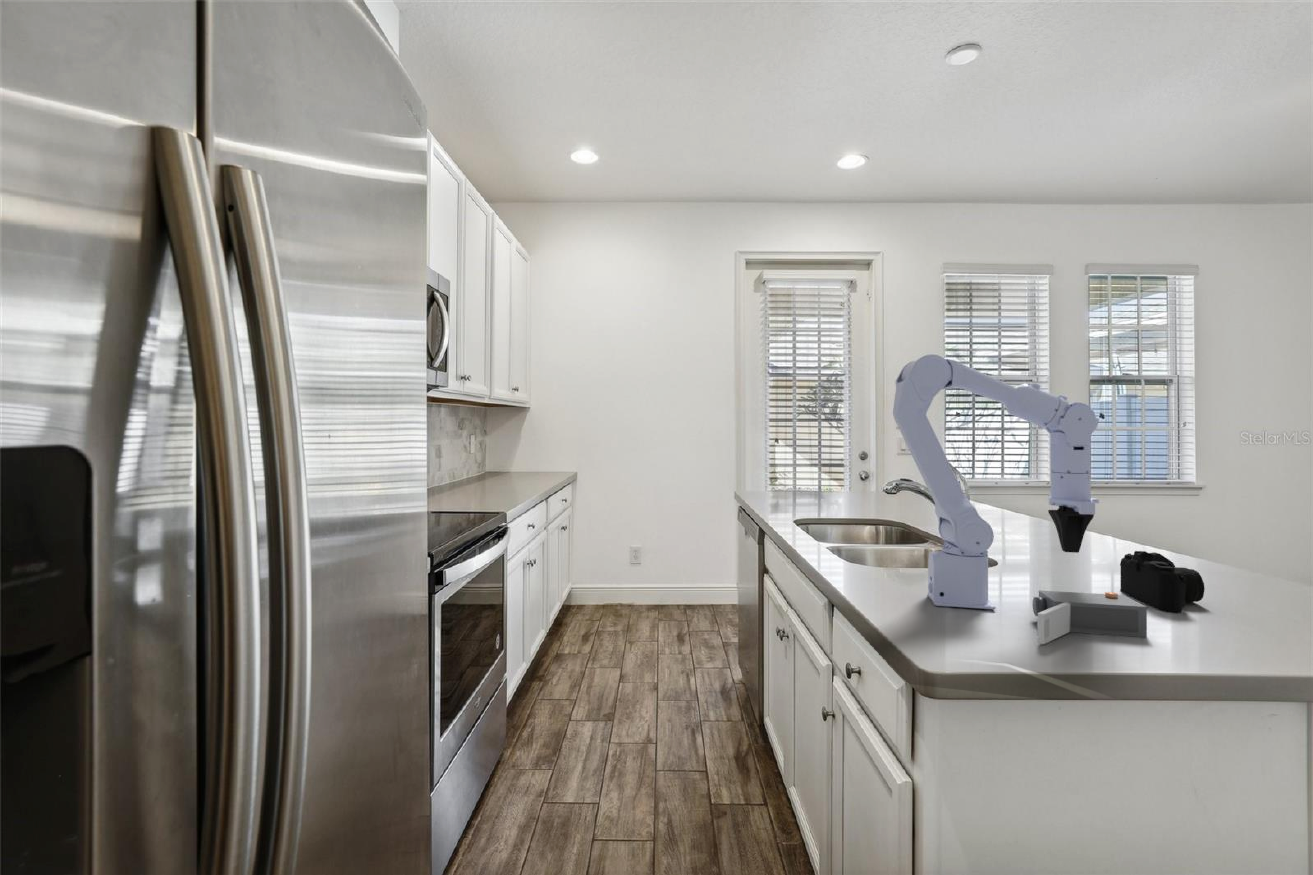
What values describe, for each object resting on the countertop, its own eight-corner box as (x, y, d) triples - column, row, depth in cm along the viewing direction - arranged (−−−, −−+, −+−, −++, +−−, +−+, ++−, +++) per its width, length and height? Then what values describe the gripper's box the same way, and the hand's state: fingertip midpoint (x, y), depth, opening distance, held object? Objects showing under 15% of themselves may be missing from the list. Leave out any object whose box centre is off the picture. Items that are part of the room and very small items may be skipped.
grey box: (1046, 630, 94) (1045, 597, 94) (1030, 617, 100) (1030, 586, 100) (1147, 637, 90) (1147, 603, 90) (1124, 623, 97) (1123, 591, 97)
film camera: (1226, 616, 101) (1226, 562, 101) (1159, 613, 103) (1159, 560, 103) (1170, 594, 116) (1170, 546, 116) (1112, 591, 118) (1112, 544, 118)
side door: (1064, 629, 93) (1064, 601, 93) (1072, 631, 92) (1072, 603, 92) (1036, 642, 87) (1036, 612, 87) (1045, 644, 86) (1045, 614, 86)
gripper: (1117, 475, 97) (1117, 561, 97) (1079, 470, 111) (1079, 545, 111) (1066, 474, 99) (1066, 558, 99) (1036, 470, 113) (1036, 543, 113)
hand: (1070, 551), depth 105 cm, fingers closed
